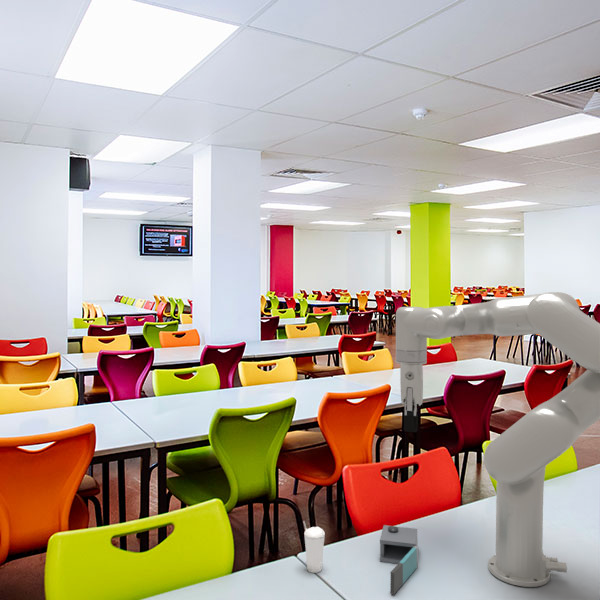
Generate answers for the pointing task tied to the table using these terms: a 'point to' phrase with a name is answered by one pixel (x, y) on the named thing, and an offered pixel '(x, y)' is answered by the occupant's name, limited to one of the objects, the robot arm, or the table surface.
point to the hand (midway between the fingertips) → (410, 430)
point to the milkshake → (314, 548)
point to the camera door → (404, 569)
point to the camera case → (396, 543)
